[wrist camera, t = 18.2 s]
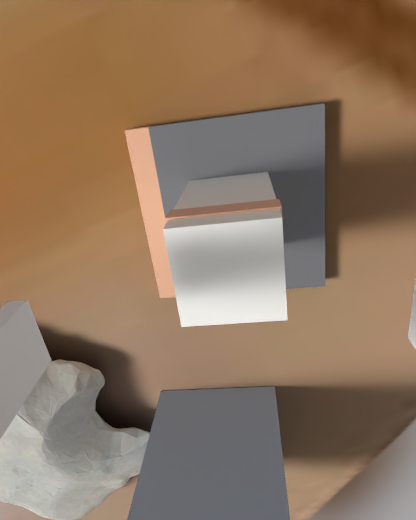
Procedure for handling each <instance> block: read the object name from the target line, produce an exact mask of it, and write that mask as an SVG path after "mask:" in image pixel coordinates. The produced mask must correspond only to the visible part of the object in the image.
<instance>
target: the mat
mask: <svg viewBox="0 0 416 520" xmlns="http://www.w3.org/2000/svg"><path fill="white" fill-rule="evenodd" d="M125 134H126V139H127V144H128V149H129V153H130V158H131V163H132V167H133V172H134V177H135V182H136V186H137V191H138V196H139V200H140V205H141V210H142V215H143V219H144V224H145V229H146V233H147V238H148V243H149V248H150V252H151V257H152V262H153V267H154V271H155V276H156V281H157V285H158V290H159V295H160V298H170V297H176V295H175V290H174V285H173V279H172V274H171V269H170V264H169V259H168V253H167V248H166V243H165V238H164V232H163V228H164V226H165V224H166V219H165V218H166V216H167V214H168V213H169V211H170V210H174V208H175V206H176V204H177V202H178V201H179V199H180V197H181V195H182V193H183V191H184V190H185V188H186V186H187V184H188V182H189V181H191V180H200V179H208V178H217V177H226V176H235V175H244V174H253V173H261V172H268V174H269V177H270V180H271V183H272V187H273V190H274V193H275V196H276V199H279V200H280V203H281V206H282V223H283V242H284V262H285V282H286V289H291V288H305V287H319V286H325V103H317V104H309V105H302V106H294V107H287V108H279V109H272V110H265V111H257V112H250V113H242V114H235V115H227V116H220V117H213V118H205V119H198V120H190V121H183V122H175V123H168V124H161V125H153V126H146V127H138V128H131V129H127V130H125Z"/></svg>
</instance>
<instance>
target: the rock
mask: <svg viewBox="0 0 416 520" xmlns="http://www.w3.org/2000/svg"><path fill="white" fill-rule="evenodd" d="M104 385H105V379H104V377H103V375H102V373H101V372H100V370H97V369H94V368H92V367H90V366H88V365H86V364H84V363H81V362H76V361H66V360H60V359H59V360H55V361H51V362H50V363H49V365H48V366H47V368H46V370H45V371H44V373H43V374H42V376H41V377H40V379H39V380H38V382H37V383H36V385H35V387H34V388H33V390H32V391H31V393H30V394H29V396H28V397H27V399H26V400H25V402H24V403H23V405H22V407H21V408H20V410H19V411H18V413H17V414H16V416H15V417H14V419H13V420H12V422H11V424H10V425H9V427H8V428H7V430H6V431H5V433H4V434H3V436H2V437H1V439H0V502H6V503H11V504H15V505H18V506H22V507H25V508H26V509H28V510H30V511H32V512H35V513H36V514H38V515H40V516H42V517H45V518H49V519H55V520H76V519H79V518H82V517H84V516H85V515H86V514H88V513H89V512H90V511H91V510H93V509H94V508H95V507H97V506H98V505H100V504H101V503H102V502H103V501H104V500H105V499H106V498H107V497H108V496H109V495H110V494H111V493H112V492H113V491H114V490H116V489H118V488H120V487H123V486H125V485H126V483H127V482H128V480H129V478H130V477H133V476H135V475H137V474H139V473H140V469H141V466H142V462H143V458H144V454H145V450H146V447H147V443H148V439H149V435H150V432H148V431H144V430H141V429H138V428H135V427H131V428H122V429H117V428H113V427H111V426H110V425H109V424H107V423H106V422H105V421H104V420H103V419H102V418H101V417H100V416H99V415H98V413H97V412H96V411H95V407H96V398H97V396H98V393H99V391H100V389H101V388H102V387H103V386H104ZM51 402H52V403H51ZM21 414H22V415H21Z"/></svg>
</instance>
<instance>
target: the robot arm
mask: <svg viewBox="0 0 416 520" xmlns="http://www.w3.org/2000/svg"><path fill="white" fill-rule="evenodd" d="M408 339H409V340H410V342H411V343H412V345H413V346H414V348H415V349H416V278H415V286H414V294H413V302H412V310H411V318H410V327H409V335H408ZM50 362H51V358H50V355H49V353H48V350H47V348H46V345H45V343H44V340H43V338H42V335H41V333H40V330H39V328H38V325H37V323H36V320H35V318H34V315H33V313H32V310H31V308H30V305H29V303H28V300H19V301H7V302H6V303H5V304H4V305H3V306H2V307H1V308H0V439H1V437H2V436H3V434H4V433H5V431H6V430H7V428H8V427H9V425H10V424H11V422H12V420H13V419H14V417H15V416H16V414H17V413H18V411H19V410H20V408H21V407H22V405H23V403H24V402H25V400H26V399H27V397H28V396H29V394H30V393H31V391H32V390H33V388H34V387H35V385H36V383H37V382H38V380H39V379H40V377H41V376H42V374H43V373H44V371H45V370H46V368H47V366H48V365H49V363H50Z"/></svg>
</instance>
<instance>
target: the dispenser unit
mask: <svg viewBox="0 0 416 520" xmlns="http://www.w3.org/2000/svg"><path fill="white" fill-rule="evenodd" d="M127 520H290V516H289V507H288V498H287V489H286V480H285V472H284V463H283V454H282V445H281V436H280V427H279V418H278V410H277V401H276V392H275V386H269V387H245V388H221V389H197V390H173V391H161V393H160V397H159V401H158V405H157V408H156V412H155V416H154V420H153V424H152V427H151V431H150V435H149V439H148V443H147V447H146V450H145V454H144V458H143V462H142V466H141V469H140V473H139V477H138V481H137V485H136V488H135V492H134V496H133V500H132V504H131V508H130V511H129V515H128V519H127Z"/></svg>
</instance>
